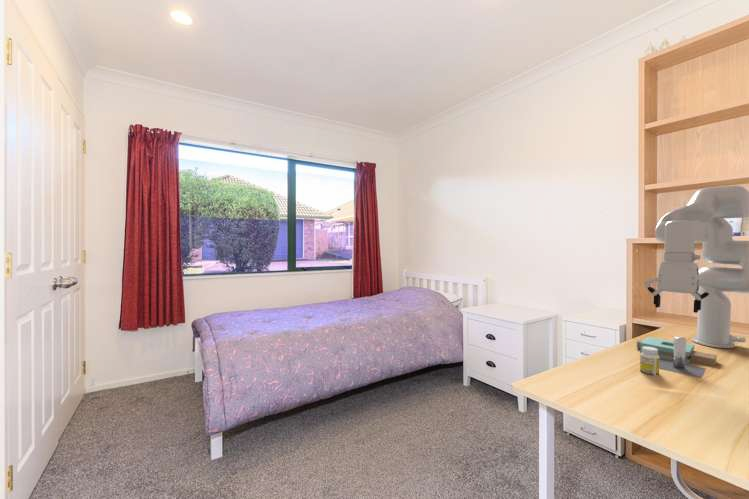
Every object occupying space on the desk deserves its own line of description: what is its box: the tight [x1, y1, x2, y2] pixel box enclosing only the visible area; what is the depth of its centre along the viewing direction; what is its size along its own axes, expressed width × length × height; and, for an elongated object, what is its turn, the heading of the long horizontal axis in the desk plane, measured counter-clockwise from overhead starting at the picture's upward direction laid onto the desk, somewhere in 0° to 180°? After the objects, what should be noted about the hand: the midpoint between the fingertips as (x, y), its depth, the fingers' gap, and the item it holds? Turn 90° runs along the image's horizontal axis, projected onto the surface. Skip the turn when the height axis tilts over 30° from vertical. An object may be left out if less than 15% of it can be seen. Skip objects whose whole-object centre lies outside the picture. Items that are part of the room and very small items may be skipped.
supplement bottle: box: [639, 346, 660, 376], centre depth 110 cm, size 5×5×8 cm
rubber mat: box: [659, 357, 707, 379], centre depth 114 cm, size 12×12×1 cm
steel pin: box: [672, 335, 687, 369], centre depth 113 cm, size 3×3×10 cm
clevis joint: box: [636, 336, 718, 367], centre depth 125 cm, size 22×12×4 cm, turn 41°
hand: (676, 309), depth 114 cm, fingers open, 9 cm apart
